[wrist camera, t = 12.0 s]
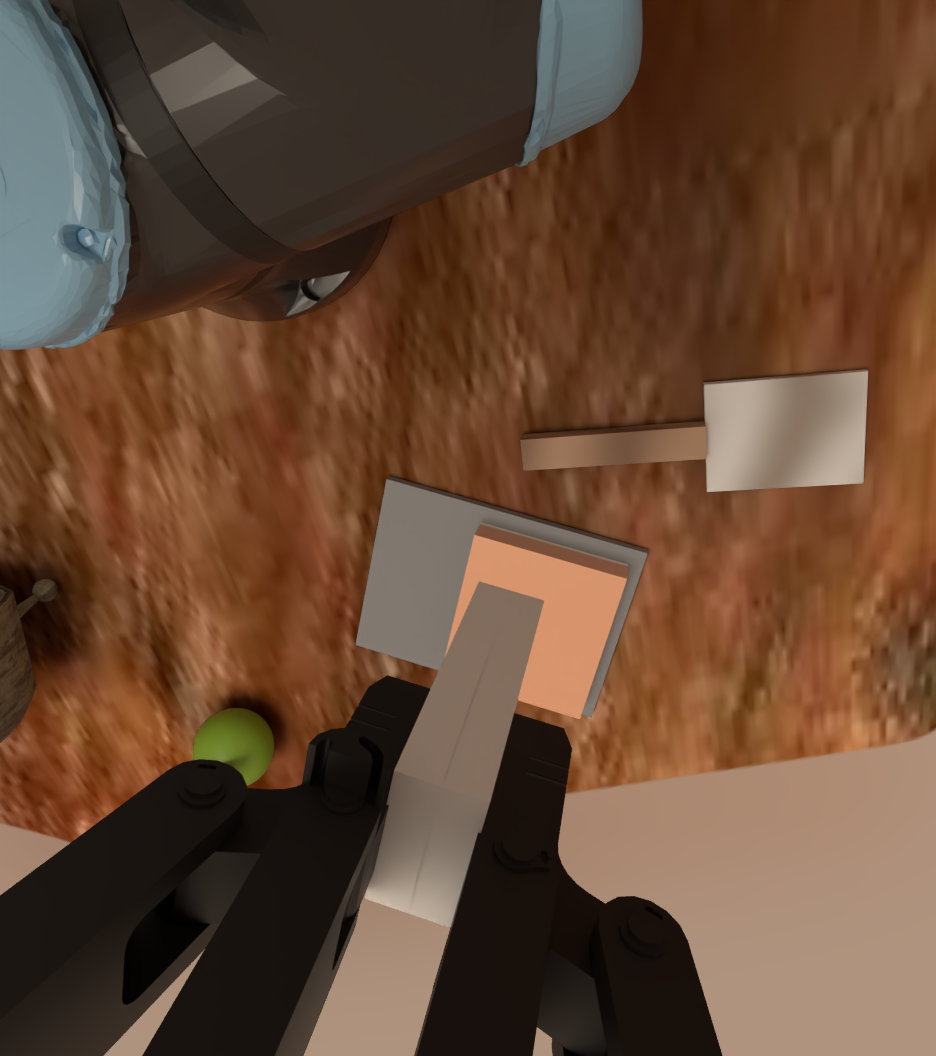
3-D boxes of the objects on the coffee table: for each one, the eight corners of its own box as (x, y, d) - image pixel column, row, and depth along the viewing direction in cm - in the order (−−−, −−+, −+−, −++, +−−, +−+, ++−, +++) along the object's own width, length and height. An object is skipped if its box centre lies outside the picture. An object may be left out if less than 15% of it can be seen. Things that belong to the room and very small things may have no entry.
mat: (358, 640, 55) (355, 644, 54) (389, 476, 50) (386, 478, 49) (591, 712, 53) (591, 717, 53) (647, 549, 48) (647, 553, 48)
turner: (530, 498, 48) (527, 505, 47) (519, 398, 46) (516, 403, 45) (860, 479, 44) (865, 486, 43) (865, 368, 42) (871, 373, 41)
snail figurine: (193, 707, 60) (90, 821, 49) (263, 684, 58) (172, 798, 47) (229, 766, 61) (137, 889, 51) (299, 746, 59) (219, 870, 48)
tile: (439, 676, 51) (579, 719, 50) (474, 534, 47) (627, 578, 46) (447, 659, 53) (582, 700, 52) (481, 522, 49) (628, 564, 48)
